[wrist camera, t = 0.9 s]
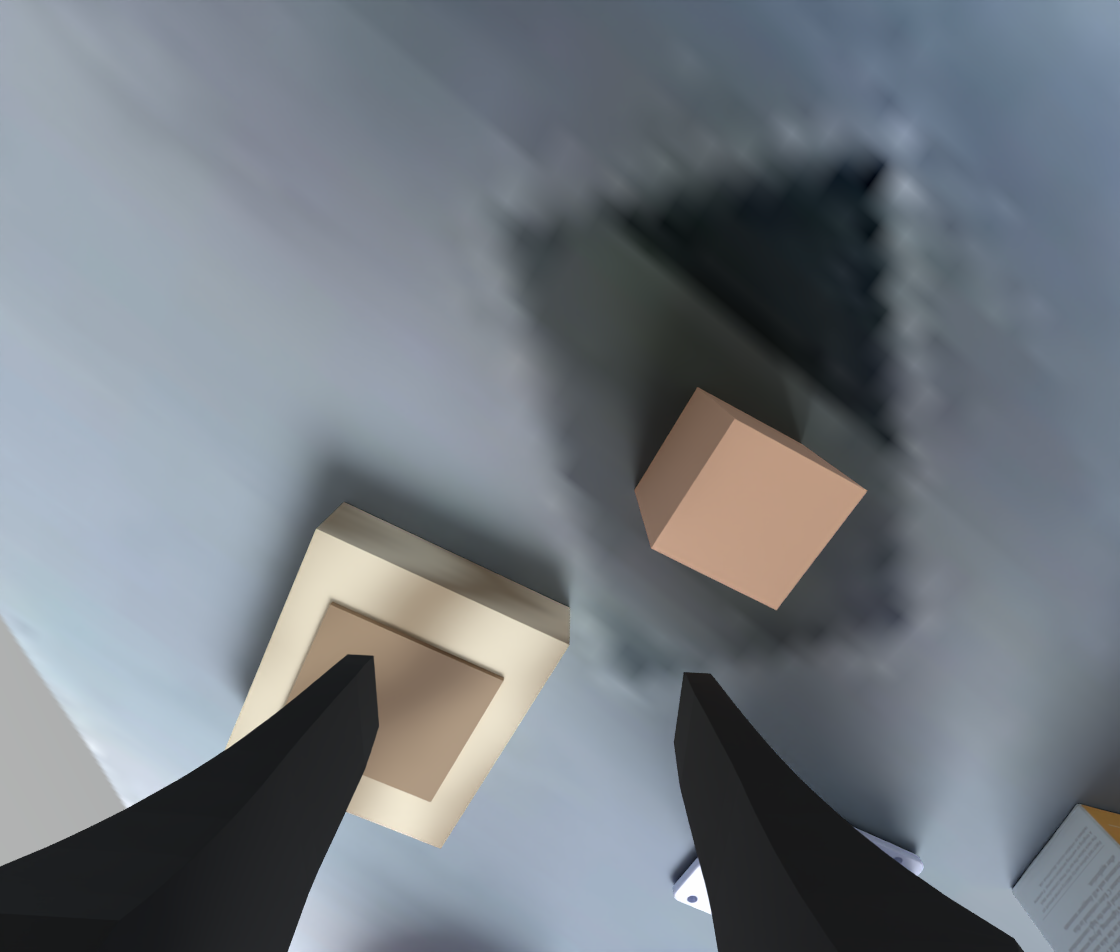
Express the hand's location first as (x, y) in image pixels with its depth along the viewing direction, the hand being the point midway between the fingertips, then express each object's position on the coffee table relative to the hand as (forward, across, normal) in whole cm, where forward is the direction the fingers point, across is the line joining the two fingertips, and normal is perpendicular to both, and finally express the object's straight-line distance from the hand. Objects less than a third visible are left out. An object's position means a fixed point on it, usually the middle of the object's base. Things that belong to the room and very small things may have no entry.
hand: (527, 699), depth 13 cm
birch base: (+10, +6, +7) cm, 13 cm away
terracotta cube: (+10, -6, -3) cm, 12 cm away
